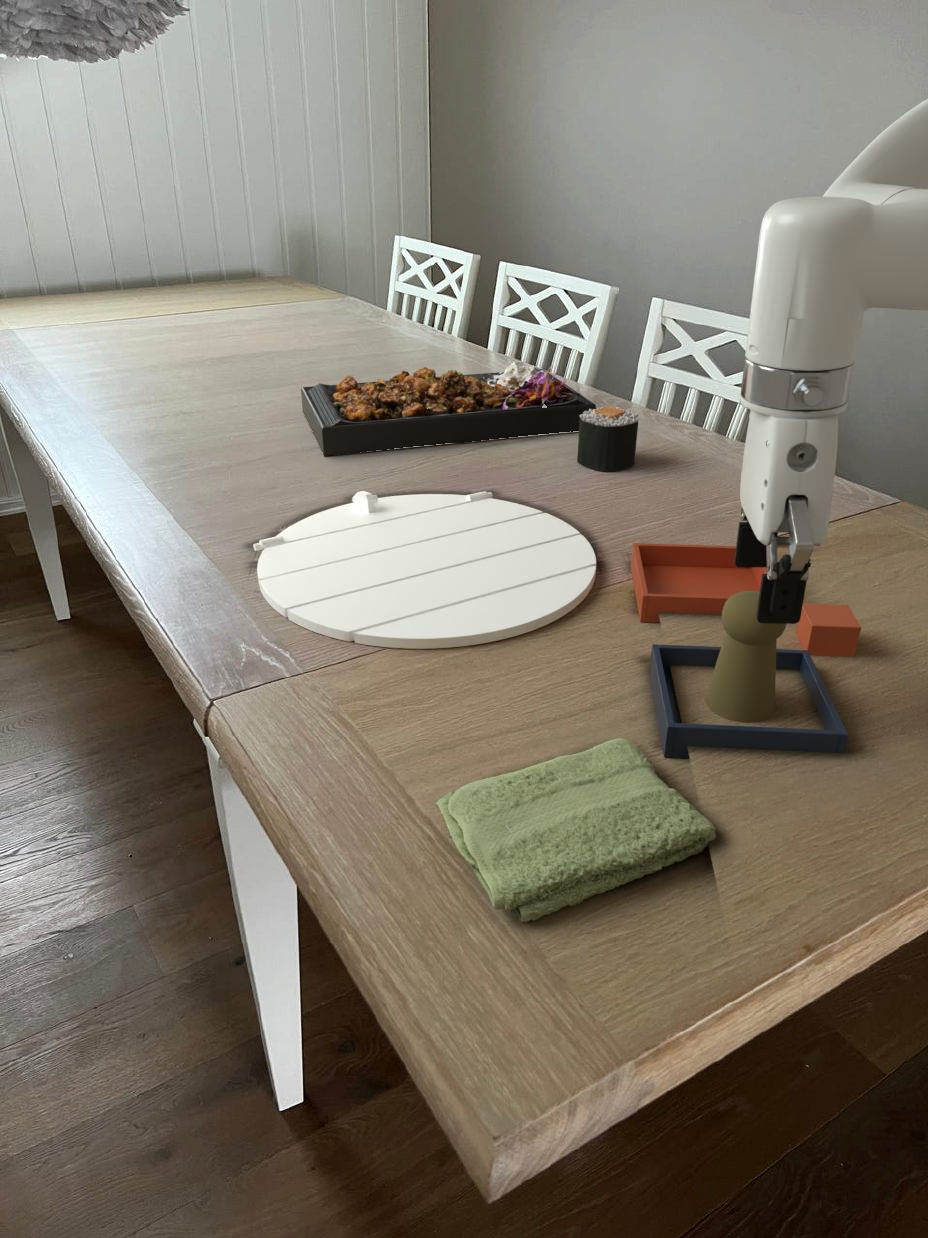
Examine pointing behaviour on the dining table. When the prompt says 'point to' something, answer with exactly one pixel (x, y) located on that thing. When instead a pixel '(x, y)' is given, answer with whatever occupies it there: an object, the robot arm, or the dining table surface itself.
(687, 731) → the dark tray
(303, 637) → the dining table surface
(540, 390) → the food platter
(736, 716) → the olive pawn
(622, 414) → the sushi
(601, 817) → the washcloth
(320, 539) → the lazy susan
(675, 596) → the terracotta tray
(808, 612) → the terracotta block
